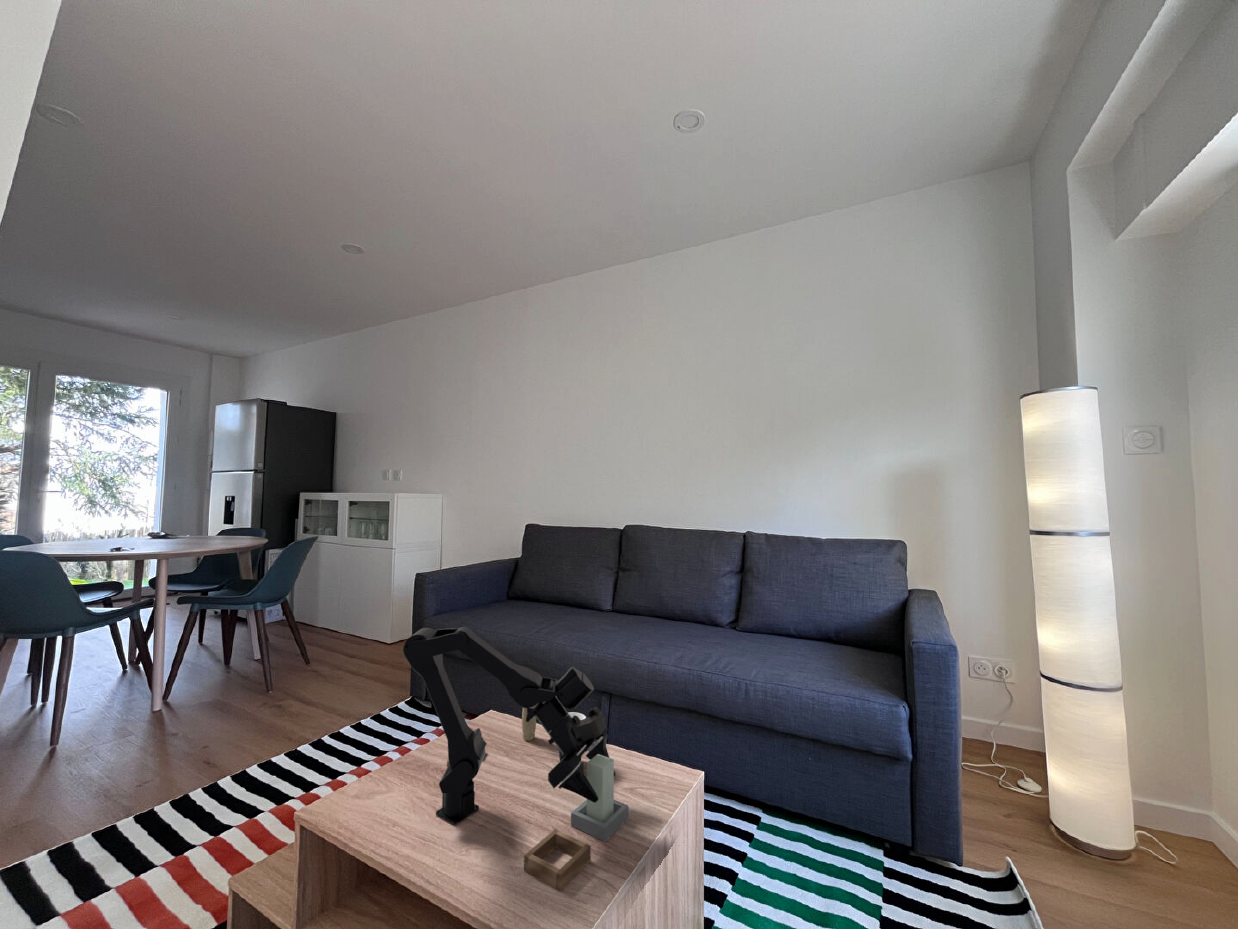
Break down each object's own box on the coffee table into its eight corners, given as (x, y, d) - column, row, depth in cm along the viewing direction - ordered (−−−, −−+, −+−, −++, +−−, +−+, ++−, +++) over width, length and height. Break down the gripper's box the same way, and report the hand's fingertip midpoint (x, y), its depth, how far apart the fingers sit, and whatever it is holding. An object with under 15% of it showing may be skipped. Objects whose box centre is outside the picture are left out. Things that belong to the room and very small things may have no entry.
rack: (523, 870, 87) (524, 855, 87) (555, 842, 94) (555, 829, 94) (560, 891, 82) (560, 875, 82) (590, 860, 89) (590, 846, 89)
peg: (586, 824, 99) (586, 762, 100) (597, 813, 103) (598, 754, 104) (602, 831, 97) (602, 768, 98) (613, 820, 100) (613, 759, 101)
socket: (570, 825, 99) (571, 813, 99) (595, 804, 106) (595, 792, 106) (605, 841, 94) (605, 828, 94) (628, 818, 101) (628, 805, 101)
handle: (531, 745, 131) (532, 688, 132) (514, 739, 135) (515, 683, 136) (543, 738, 135) (544, 682, 137) (526, 732, 139) (527, 678, 140)
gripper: (562, 718, 95) (615, 790, 90) (600, 685, 112) (646, 743, 107) (526, 753, 97) (576, 825, 92) (569, 715, 114) (612, 773, 109)
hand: (605, 788), depth 100 cm, fingers open, 9 cm apart
